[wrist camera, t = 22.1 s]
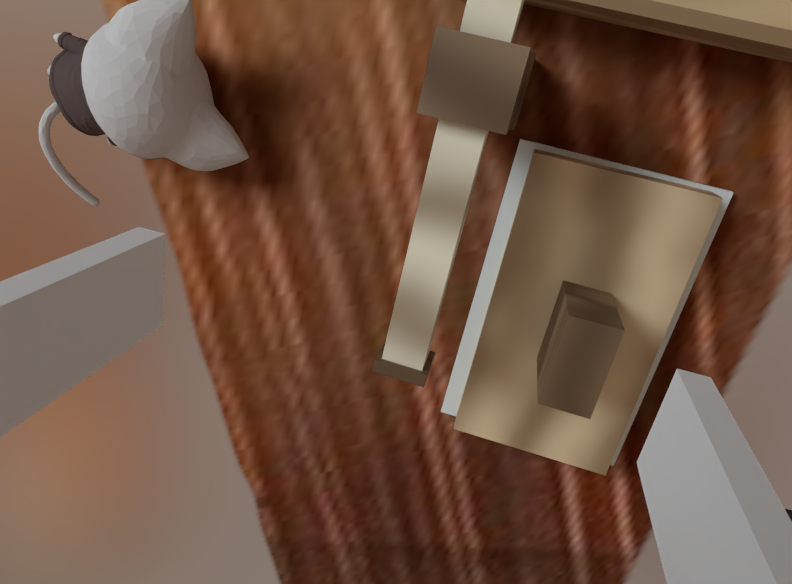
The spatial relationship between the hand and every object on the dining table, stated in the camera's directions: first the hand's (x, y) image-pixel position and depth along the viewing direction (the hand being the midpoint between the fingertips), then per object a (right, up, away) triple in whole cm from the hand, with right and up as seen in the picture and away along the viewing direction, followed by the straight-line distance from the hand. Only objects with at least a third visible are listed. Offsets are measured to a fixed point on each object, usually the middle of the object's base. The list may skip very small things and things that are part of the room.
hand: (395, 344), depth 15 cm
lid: (+13, 0, +28) cm, 31 cm away
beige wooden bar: (+3, +7, +19) cm, 20 cm away
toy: (-17, +15, +30) cm, 38 cm away
